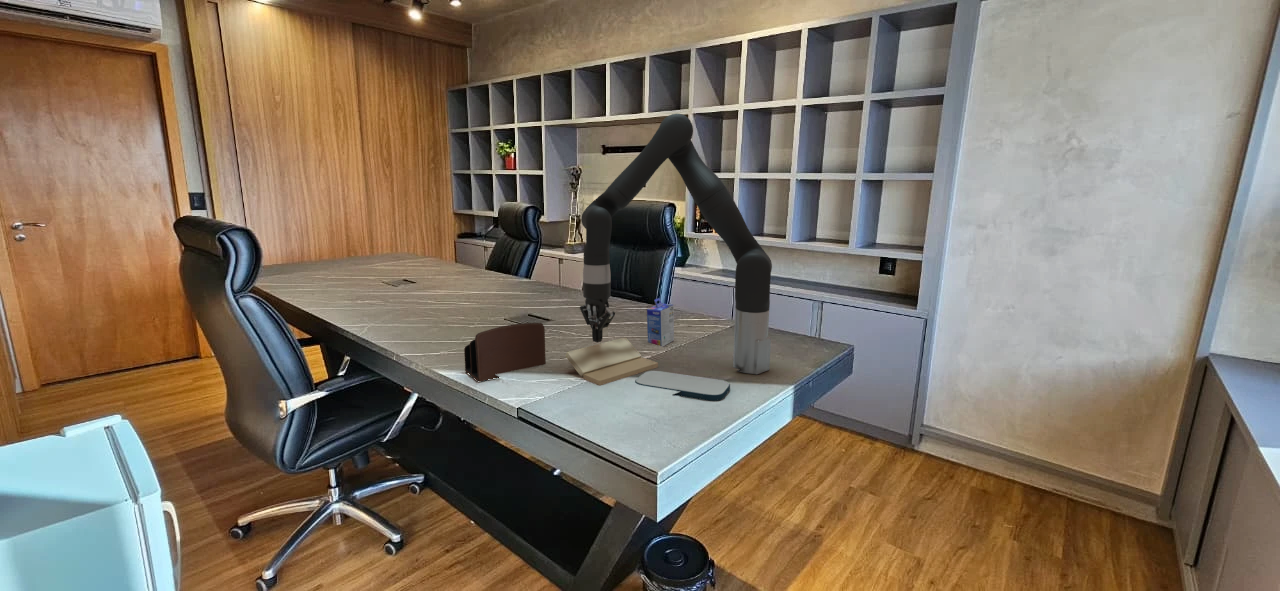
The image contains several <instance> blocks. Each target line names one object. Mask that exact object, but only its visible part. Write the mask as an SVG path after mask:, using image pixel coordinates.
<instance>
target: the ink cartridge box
mask: <svg viewBox="0 0 1280 591" xmlns="http://www.w3.org/2000/svg"><path fill="white" fill-rule="evenodd" d="M653 302H654V304H655V305H654V306H651V307H649V308H647V309H646V318H647V319H646V323H647V324H646V325H647V343H649V344H653V345H656V346H660V347H665V346H667V345H669V343H672V342H674V340H675V312H674V311H675V309H674V308H675V305H674V304H671V303H662V301H661V299H660V297H658V298H655V299H654V300H653ZM658 302H659V303H658Z"/></svg>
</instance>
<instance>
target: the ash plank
mask: <svg viewBox="0 0 1280 591" xmlns="http://www.w3.org/2000/svg"><path fill="white" fill-rule="evenodd" d="M641 357H642V354H640V352H639V351H638V349H636V348H635V346H633V344H632V343H631V342H630V341H629V340H628V338H626V337H622V338H616V339H614V340H609V341H605V342H600V343H598V344H594V345H588V346H585V347H582V348H577V349H572V350H570V351H567V352H566V354H565V358H566V359H567V360H568V362H569V363H570V365H571V366H572V367H573V368H574V369H575V370H576V373H578V375H579V376H580V378H584V377H583V374H587V373H590V372H594V371H597V370H600V369H604V368H607V367H611V366H614V365H617V364H621V363H624V362H628V361H631V360H635V359H638V358H641Z"/></svg>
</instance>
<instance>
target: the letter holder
mask: <svg viewBox="0 0 1280 591" xmlns="http://www.w3.org/2000/svg"><path fill="white" fill-rule="evenodd" d="M545 331H546V329H545V326H544V324H543V323H541V322H527V323H526V322H525V323H523V322H522V323H515V324H507V325H502V326H499V327H495V328H489V329H487V330H484V331H481V332H478V333H477V334H476V335H475V338H474V339H472V340H471V341H470V343H469V344H467V345H465V347H464V349H463V352H464V372H465V371H466V372H467V373H469V374H470V375H471V376H472V377H473V378H475V379H476V380H477V381H476V380H475V379H474V380H475V381H476V382H478V381H484V380H488V379H493V378H498V379H500V378H499V377H500V376H499V375H500V374H504V373H510V372H514V371H519V370H524V369H529V368H532V367H533V368H535V367H537V366H542V365H546V362H547V360H546V359H547V358H546V332H545ZM467 373H466V374H467ZM471 376H470V377H471ZM472 377H471V378H472ZM473 378H472V379H473ZM493 380H494V379H493ZM488 381H489V380H488ZM484 382H485V381H484Z"/></svg>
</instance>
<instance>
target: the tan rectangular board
mask: <svg viewBox="0 0 1280 591" xmlns="http://www.w3.org/2000/svg"><path fill="white" fill-rule="evenodd" d="M656 368H659V362H657V361H654V360H651V359H648V358H644V357H643V356H641V358H638V359H635V360H631V361H628V362H624V363H621V364H617V365H614V366H611V367H607V368H604V369H600V370H597V371H594V372H590V373H587V374H583V377H582V378H583V380H586V381H588V382H589V383H592V384H595V385H597V386H604V385H607V384H609V383H612V382H613V383H614V382H615V381H616V382H617V381H618V380H621V379H625V378H628V377H632V376H635V375H637V374H641V373H645V372H647V371H652V370H653V369H656Z"/></svg>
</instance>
